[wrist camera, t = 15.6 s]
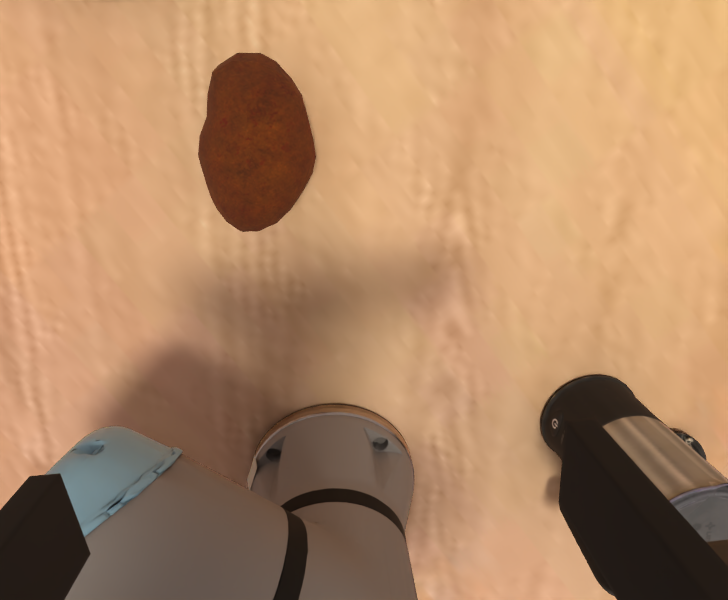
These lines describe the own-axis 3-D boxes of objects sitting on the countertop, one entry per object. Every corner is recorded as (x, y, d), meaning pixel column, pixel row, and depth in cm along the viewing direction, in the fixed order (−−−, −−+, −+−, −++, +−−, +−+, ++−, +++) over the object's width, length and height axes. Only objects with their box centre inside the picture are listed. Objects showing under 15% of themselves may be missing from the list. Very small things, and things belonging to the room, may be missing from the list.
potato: (316, 58, 33) (311, 38, 25) (318, 222, 37) (314, 247, 29) (204, 55, 32) (166, 33, 25) (219, 221, 36) (189, 246, 29)
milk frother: (541, 377, 43) (641, 498, 29) (709, 358, 43) (887, 467, 29) (536, 499, 48) (619, 651, 34) (686, 480, 48) (829, 624, 34)
